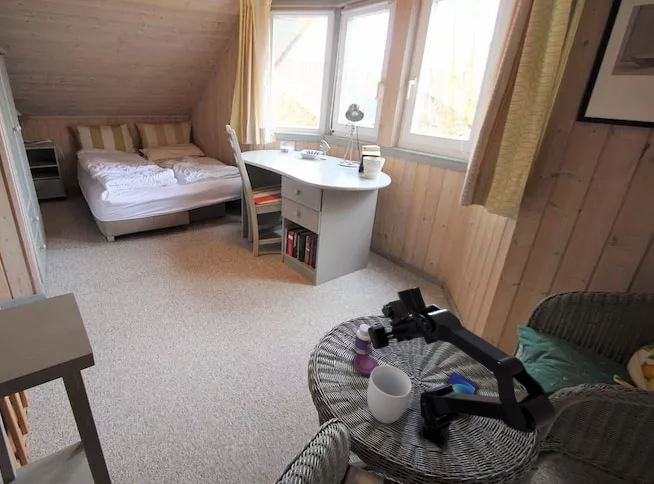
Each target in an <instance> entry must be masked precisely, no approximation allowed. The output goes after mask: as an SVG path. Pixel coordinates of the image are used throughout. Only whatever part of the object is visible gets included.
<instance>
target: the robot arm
mask: <svg viewBox="0 0 654 484" xmlns="http://www.w3.org/2000/svg"><path fill="white" fill-rule="evenodd" d="M396 294H397V297H398V299H396V300H395V299H394V300H391V301H389V302H388V303H386V304H383V305H382V309H381V313H382V315H383V317H384V318H385V319H390V321H389V322H388V323H389V325H390V327H391V331H386V328H385V326H384V325H383V324H382V323H381V324H377V325H373V326H370V328H368V333H369V336H370V339H371V346H372V348H373V349H374V350H380V349H383V348H387V347H389V346H390V341H392V340H396V342H397V343H401V342H404V341H406V342H408V341H409V342H410V341H412V340H415V339H420V338H423V339H424V341H425V344H426V345H431V344H434V343H437V342H438V341H439V342H445V343H448V344H450V345H452V346H454V347H455V348H457V349H459V350H460V351H462V353H464V354H465V355H467V356H468V357H470V358H471V359H473V360H474V361H476V362H477V363H479V364H480V365H481V366H483V367H484V368H486V369H487V370H489V371H490V372H492V374H493V376H494V378H495V380H496V383H497V392H498V393H497V394H498V396H493V395H483V394H474V395H473V394H462V393H456V391H455V390H454V389H453V386H452V384H449V385H447V384H446V383H443V382H441V383H439V384H436V385H433V386H430V387H428V388H424V389H423V392H420V399H419V404H420V405H419V409H420V416H421V418H422V419H423V422H422V425H421V427H420V429H419V431H418V435H419V436H420V437H422V438H424V439H425V440H427V441H428V442H429V443H432V445H433V444H434V445H435V446H437V447H438V448H440V449H441V450H442V449H444V447H445V445H446V442H447V441H448V437H449V434H450V432H451V431H450V430H449V429H450V427H451V423H453V422H455V421H459V420H460V419H461V418H462V415H461V414H466V415H468V416H472V417H479V418H484V419H492V420H497V421H498V420H499V421H501V422H503V424H505V426H507V427H508V428H509V429H513V430H514V431H518V432H521V433H523V434H532V433H534V432H536V431H538V430H539V429H542V428H544V427H546V426H547V425H550V424H551V423H554V422H555V420H556V419H557V412H556V408H555V406H554V405H553V403H552V402H551V400H550V398H549V396H548V395H547V392H546V391H545V389H544V387H543V386H542V384H541V383H540V382H539V381H538V380H536V378H535V377H533V375H531V374H530V373H529V372H528V371H527V369H526V366H525V365H524V364H523V362H522V360H520V358H518V357H516V356H513V355H509V354H508V353H506V352H505V351H503V350H501V349H500V348H498V347H497V346H495V345H493V344H492V343H490V342H489V341H487V340H485V339H484V338H482V337H480V336H479V335H477V334H475V333H474V332H472V331H471V330H469V329H467V328H466V327H465V326H463V324H462V322H461V320H460V319H459V317H457V316H456V315H455V314H453V313H452V312H451V311H450V310H449V309H446V308H442V307H440V306H438V305H436V304H434V303H433V304H429V305H426V303H425V300H424V298H423V295H422V291H421V289H420V286H417V287H413V288H408V289H404V290H400V291H398V292H396ZM514 379H515V380H516V381H517V382H518V383H519V384H520V385H521V386H522V387H523V388H524V389H525V391H526V392H524V393H523V392H522V393H519V394H516V392H515V391H516V390H515V383H514Z"/></svg>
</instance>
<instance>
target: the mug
mask: <svg viewBox="0 0 654 484" xmlns="http://www.w3.org/2000/svg"><path fill="white" fill-rule="evenodd" d="M412 389H413V384H412V381H411V378H410V376H409V375H408V374H407V373H406V372H405V371H403V370H402V369H401V368H399V367H396V366H394V365H388V364H382V365H379V366H378V367H376V368H374V369H373V371H372V372H371V375H370V376H369V379H368V383H367V390H366V391H367V393H366V399H367V405H368V409H369V412H370V413H371V415H372V416H373V418H374V419H376V420H377V421H378V422H379V423H383V424H392V423H394V422H396V421H397V420H398V419H400V418H401V417H402V415H403V414H404V412H406V411H405V410H406V409H407V406H408V404H409V401H410V397H411V393H412V391H413V390H412Z"/></svg>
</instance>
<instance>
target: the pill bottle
mask: <svg viewBox="0 0 654 484" xmlns="http://www.w3.org/2000/svg"><path fill="white" fill-rule="evenodd" d="M370 327H371V326H370V325H369V324H366V323H363V324H360V326H359V328H358V329H357V331H356V333H355V339H354V346H353V349H354V352H356V353H357V354H358V355H366V356H367V355H368V354H369V353H370V350H371V346H372V342H371V339H370V336H369V333H368V328H370Z"/></svg>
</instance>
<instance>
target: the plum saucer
mask: <svg viewBox="0 0 654 484" xmlns="http://www.w3.org/2000/svg"><path fill="white" fill-rule="evenodd" d="M378 366H380V365H379V363H378V361H377V360H376V358H374V357H372V356H369V355H367V354H366V355H361V354H359V355H357V356H356V357H355V358H354V360H353V367H354V369H355V371H356V372H357V373H359V374H361V375H364V376H369V377H370V375H371V372H372V371H373V369H374V368H376V367H378Z"/></svg>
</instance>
